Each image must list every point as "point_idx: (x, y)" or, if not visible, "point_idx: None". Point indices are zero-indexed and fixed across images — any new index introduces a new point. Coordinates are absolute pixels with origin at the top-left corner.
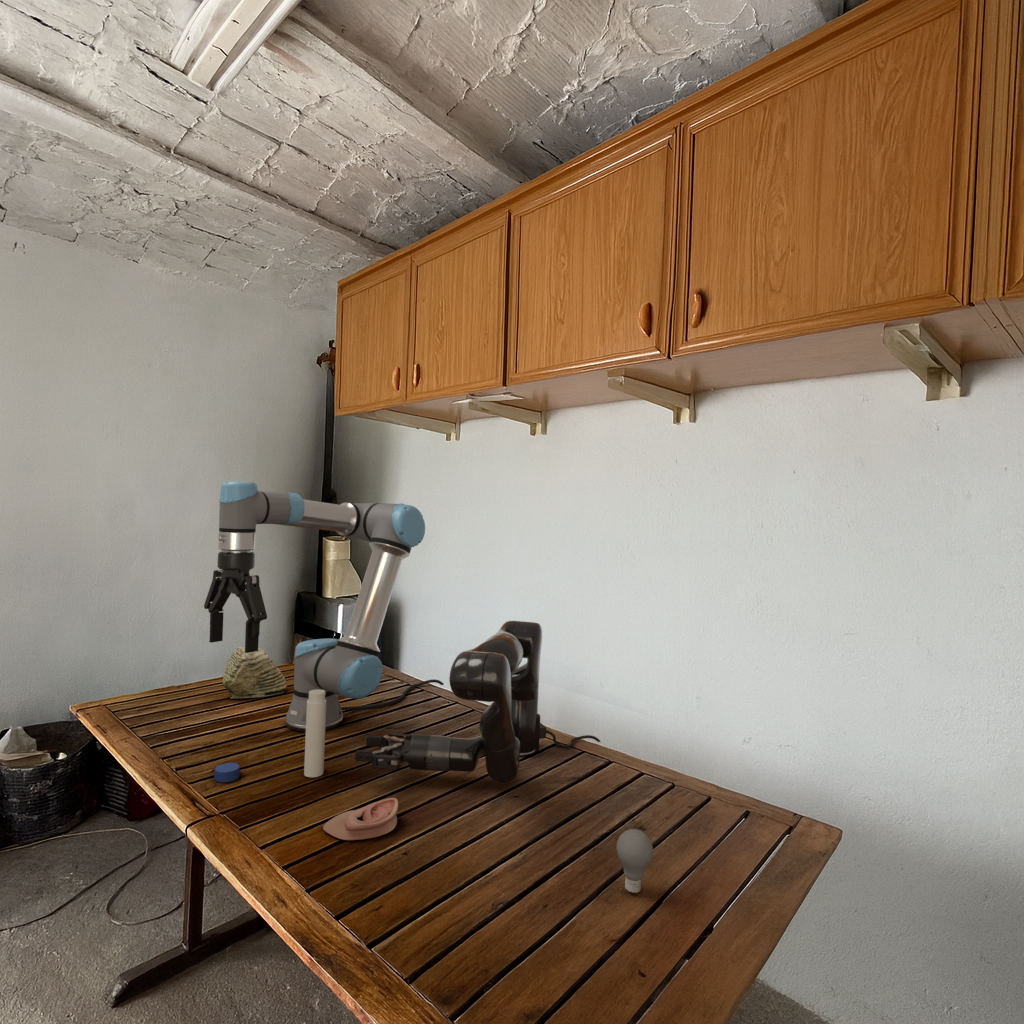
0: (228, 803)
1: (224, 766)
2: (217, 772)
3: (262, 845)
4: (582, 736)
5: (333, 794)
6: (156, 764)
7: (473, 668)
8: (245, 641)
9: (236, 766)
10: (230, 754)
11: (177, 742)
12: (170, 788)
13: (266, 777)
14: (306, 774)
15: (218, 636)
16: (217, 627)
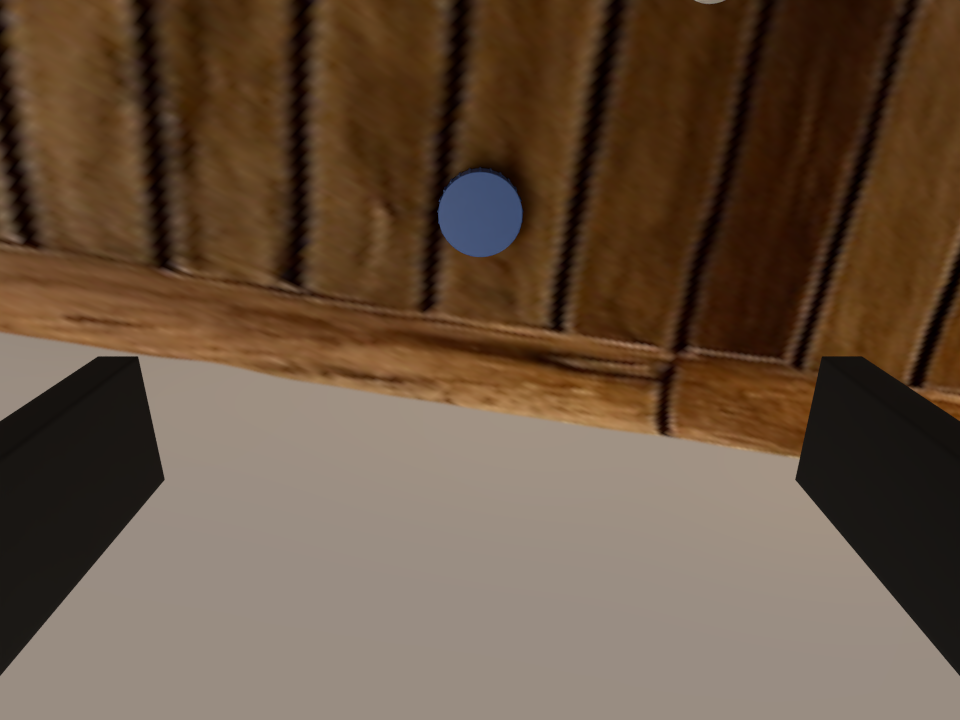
0: (645, 307)
1: (465, 218)
2: (485, 256)
3: (910, 376)
4: None
5: (903, 38)
6: (204, 304)
7: None
8: (868, 557)
9: (498, 188)
10: (293, 76)
11: (29, 151)
12: (418, 361)
13: (588, 114)
14: (713, 2)
15: (118, 434)
16: (47, 522)
